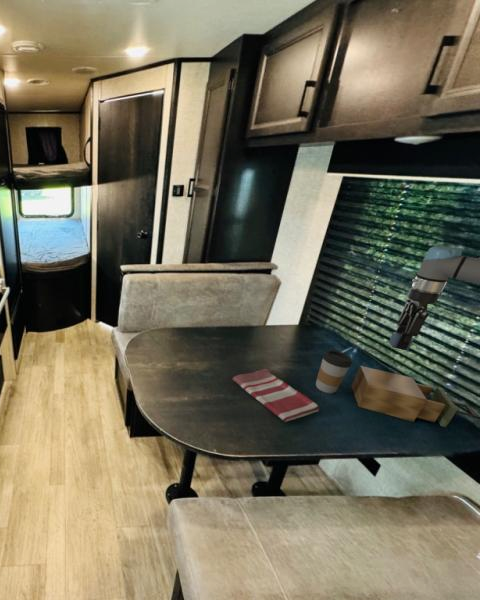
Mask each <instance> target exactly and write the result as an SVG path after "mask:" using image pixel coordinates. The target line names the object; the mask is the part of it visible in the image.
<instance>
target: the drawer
mask: <svg viewBox="0 0 480 600" xmlns="http://www.w3.org/2000/svg"><path fill="white" fill-rule="evenodd" d="M416 384H417V385H418V387H419V388H420V390H421V392H422V393H423V395H424V396H425V398H426V399H427V400H426V402H425V404H424V405H423V407H422V409H421V410H420V412H419V414H418V415H417V417H416V419H421V420H424V421H429V422H433V423H435V422H436V421H437V422H438V424H439V426H440V427H444V428H447V426H448V425H449V423H450V422H451V420H452V419H453V418H454V416H455V414H460V415H464V416H466V417H467V416H468V417H471V418H473V419H475V420H478V419H479V416H478V414H477V413H476V412H475V410H474V409H473V408H472V407H471V405H470V404H469V403H460V402H455V401H452V399H451V398H450V396H449V395H448V393H446V391H445V389H443V387H441V386H436V388H435V389H434V387H433V386H429V385H425V384H421V383H416ZM433 390H434V391H433ZM432 392H433V393H432ZM431 394H432V395H431ZM430 395H431V396H430ZM457 406H459V407H464V408H465V409H466V411H467V412H464V411H461V410H458V407H457Z"/></svg>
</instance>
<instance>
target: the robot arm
mask: <svg viewBox="0 0 480 600" xmlns="http://www.w3.org/2000/svg"><path fill="white" fill-rule="evenodd" d="M462 253H463V251H462V249H460V248H458V247H453V246H446V245H435V246H431V247H430V248H429V249H428V251H427V253H426V254H425V256H424V258H423V260H422V262H421V264H420V267H419V269H418V271H417V274H416V276H415V278H414V279H412V285H411V287H410V289H408V290H409V291H408V292H407V295H406V298H407V299H406V300H405V304H404V307H403V309H402V310H401V313H400V314H399V318H398V319H397V323H398V326H397V329H396V331H395V332H397V333H402V335H401V338H400V340H399V342H398V344H397V346H396V348H395V349H397V350H402V351H407V350H406V349H407V347H408V345H409V343H410V341H411V339H413V337H416V338H417V337H418V335H419V333H420V331H421V329H422V328H423V325H424V324H425V321H426V320H427V319H428V317H430V312H427V311H428V305H433V304H436V303H437V301H438V300H439V298H440V295H441V293H442V292H443V291H444V288H445V286H446V285H447V283H448V279H449V278H451V279H455V280H461V281H465V282H471V283H476V284H480V257H479V258H474V257H470V256H465V255H462Z"/></svg>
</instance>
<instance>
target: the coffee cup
mask: <svg viewBox="0 0 480 600" xmlns="http://www.w3.org/2000/svg"><path fill="white" fill-rule="evenodd" d="M351 367H352V357H351V356H350V355H348V354H346V353H344V352H342V351H340V350H334V349H329V350H327V351H325V352H324V353H323V356H322V359H321V363H320V367H319V370H318V374H317V377H316V382H315V387H316V388H317V389H318V390H319V391H321V392H323V393H325V394H334V393H336V392H337V390H338V389H339V387H340V386H341V384H342V382H343V380H344V378H345V377H346V375H347V373H348V371H349V369H350V368H351Z"/></svg>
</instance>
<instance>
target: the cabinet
mask: <svg viewBox="0 0 480 600" xmlns="http://www.w3.org/2000/svg"><path fill="white" fill-rule="evenodd" d="M416 382H417V381H415V379H414V377H411V376H407V375H403V374H398V373H393V372H389V371H384V370H380V369H376V368H371V367H367V366H363V365H360V366H359V369H358V371H357V372H356V375H355V376H354V379H353V381H352V384H351V389H352V392H353V395H354V398H355V401H356V403H357V406H358V407H359V408H362V409H365V410H370V411H373V412H377V413H380V414H385V415H388V416H390V417H391V416H392V417H395V418H399V419H402V420H406V421H409V422H415V420H416V419H417V415H418V414H419V412H420V410H421V409H422V407H423V405H424V404H425V402H426V400H428V398H427V399H426V398H425V396H424V395H423V393H422V392H421V390H420V388H419V387H418V385H417V384H418V383H417V384H416Z"/></svg>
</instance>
